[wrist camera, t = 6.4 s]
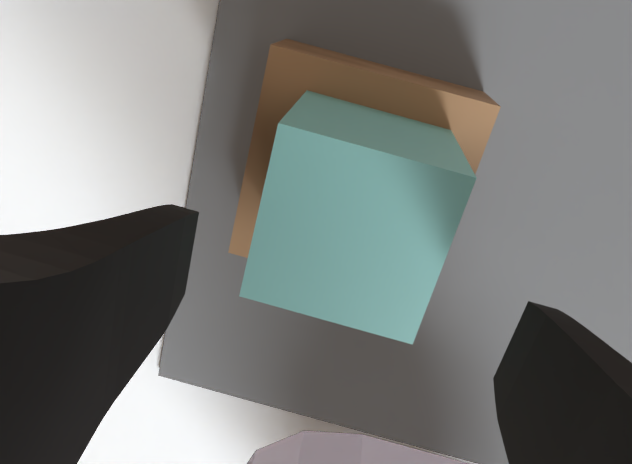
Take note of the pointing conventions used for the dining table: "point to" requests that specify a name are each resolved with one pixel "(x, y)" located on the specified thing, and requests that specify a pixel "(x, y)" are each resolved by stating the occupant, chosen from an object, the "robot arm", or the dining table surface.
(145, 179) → the dining table surface
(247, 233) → the walnut base
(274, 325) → the mat
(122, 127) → the dining table surface
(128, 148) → the dining table surface
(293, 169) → the teal block
